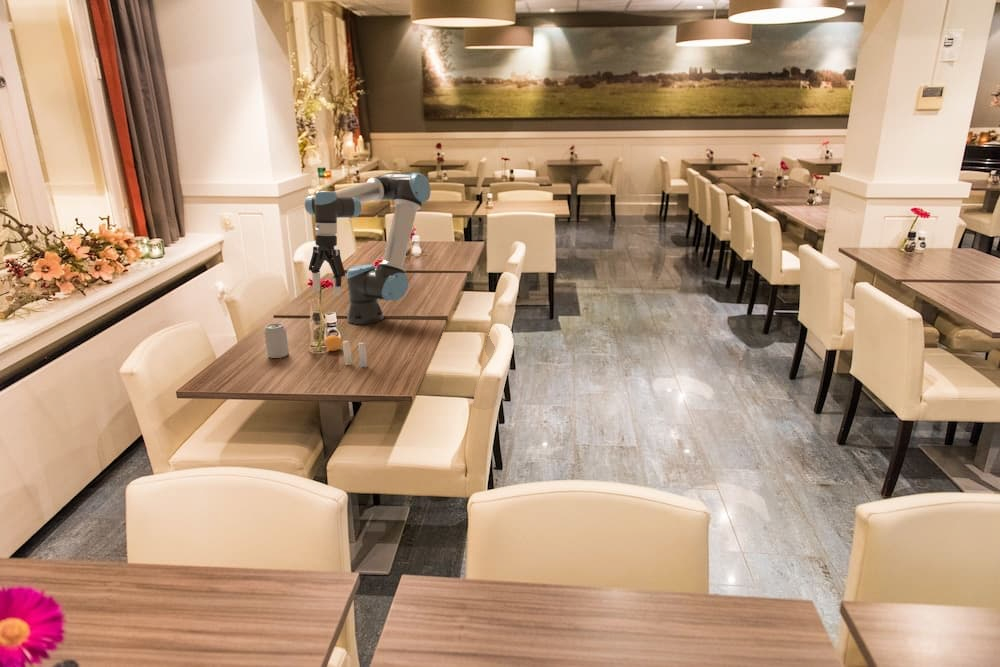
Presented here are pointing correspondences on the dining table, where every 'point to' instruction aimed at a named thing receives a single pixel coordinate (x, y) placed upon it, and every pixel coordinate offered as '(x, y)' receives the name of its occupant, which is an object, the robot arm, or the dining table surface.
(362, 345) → the pin
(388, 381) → the dining table surface
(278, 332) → the can
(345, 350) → the pin
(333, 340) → the ball
